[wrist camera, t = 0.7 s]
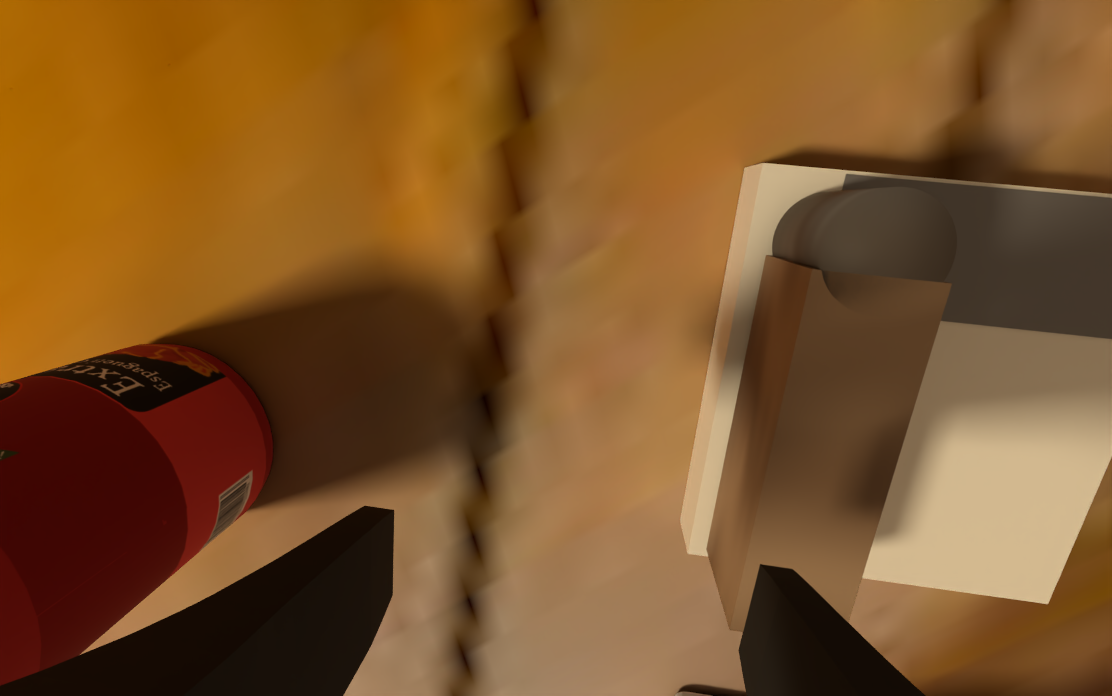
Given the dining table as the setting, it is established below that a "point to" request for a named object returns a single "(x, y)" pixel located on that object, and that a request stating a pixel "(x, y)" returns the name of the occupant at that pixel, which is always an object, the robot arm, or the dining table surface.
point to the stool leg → (828, 388)
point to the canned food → (115, 489)
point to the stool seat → (960, 383)
